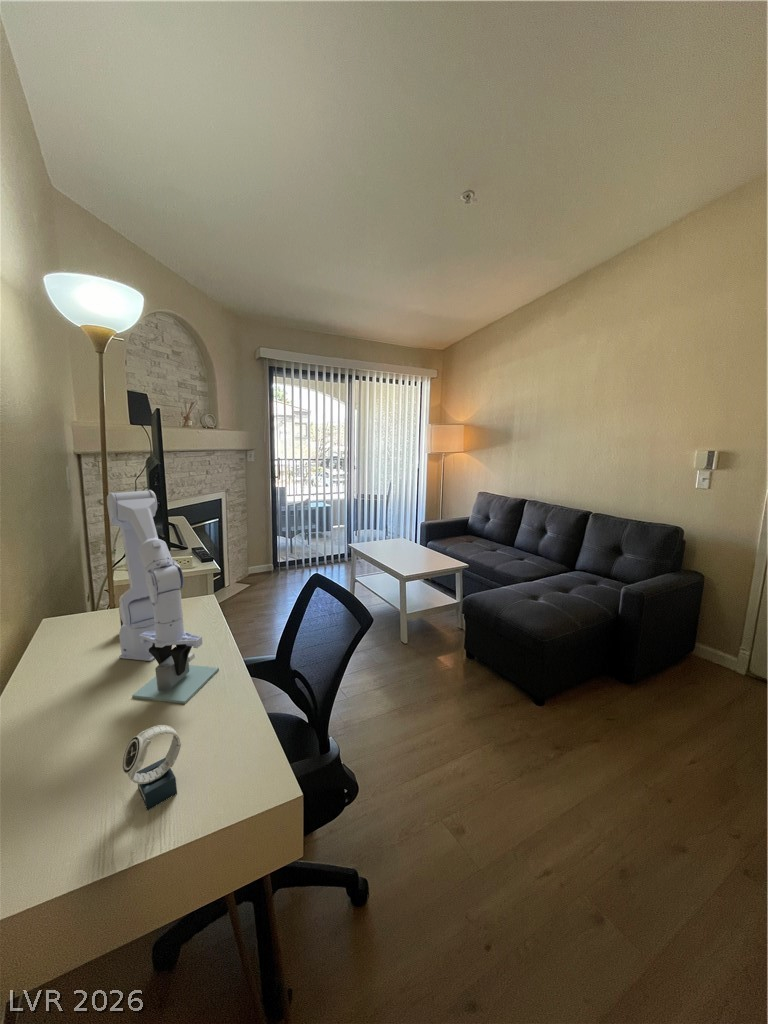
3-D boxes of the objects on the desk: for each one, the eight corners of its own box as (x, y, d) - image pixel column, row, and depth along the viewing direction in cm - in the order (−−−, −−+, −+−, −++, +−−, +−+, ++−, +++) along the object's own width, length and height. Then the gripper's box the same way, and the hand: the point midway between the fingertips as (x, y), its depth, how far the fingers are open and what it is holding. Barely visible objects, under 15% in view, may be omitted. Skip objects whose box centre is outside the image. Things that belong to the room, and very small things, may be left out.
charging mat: (132, 697, 87) (132, 695, 87) (172, 665, 100) (171, 663, 100) (185, 703, 86) (185, 701, 85) (218, 670, 98) (218, 667, 98)
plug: (154, 690, 87) (152, 670, 86) (186, 663, 98) (184, 645, 97) (166, 692, 87) (164, 671, 86) (197, 664, 97) (195, 646, 97)
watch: (124, 795, 63) (116, 736, 61) (177, 767, 69) (172, 711, 67) (132, 819, 59) (124, 756, 57) (188, 787, 65) (183, 728, 63)
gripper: (126, 623, 86) (133, 679, 88) (186, 628, 84) (191, 685, 86) (150, 610, 93) (155, 662, 95) (206, 614, 91) (210, 667, 93)
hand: (174, 672), depth 91 cm, fingers closed on plug, 3 cm apart
